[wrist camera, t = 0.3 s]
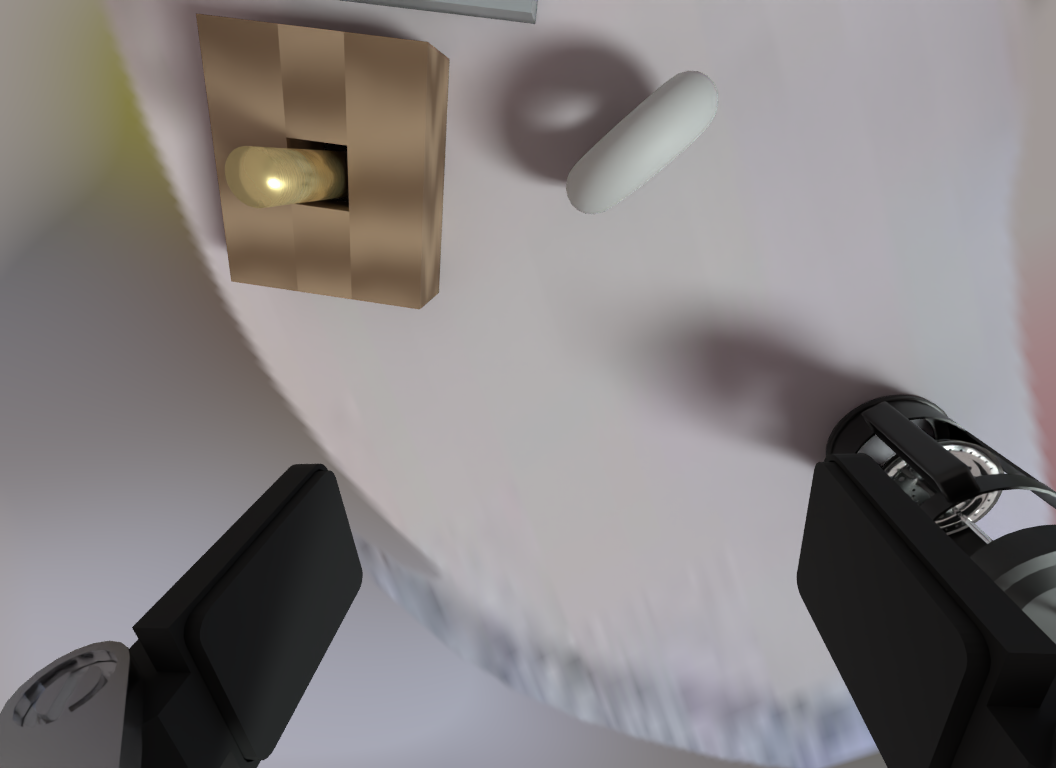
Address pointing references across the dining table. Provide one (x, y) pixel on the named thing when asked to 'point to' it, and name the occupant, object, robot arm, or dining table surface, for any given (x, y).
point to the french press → (961, 494)
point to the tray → (470, 7)
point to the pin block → (306, 123)
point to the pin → (286, 175)
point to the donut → (643, 142)
